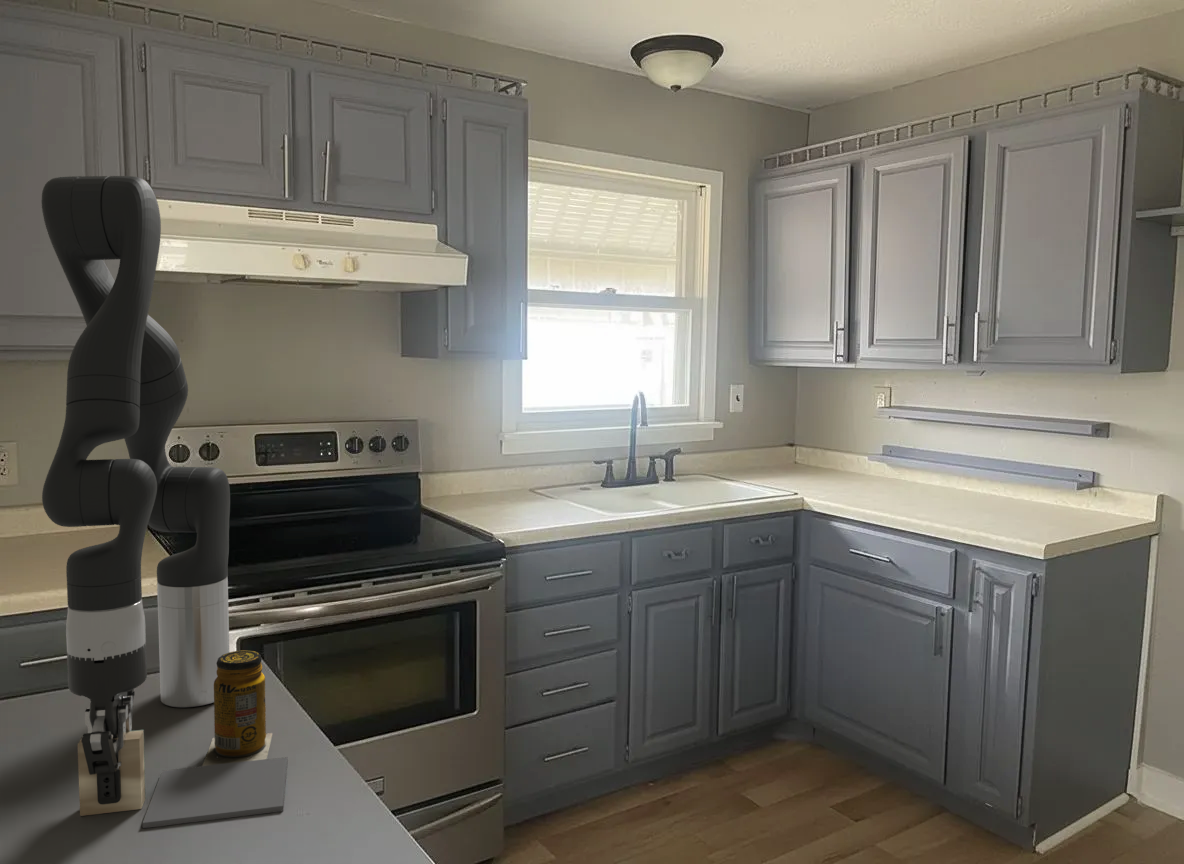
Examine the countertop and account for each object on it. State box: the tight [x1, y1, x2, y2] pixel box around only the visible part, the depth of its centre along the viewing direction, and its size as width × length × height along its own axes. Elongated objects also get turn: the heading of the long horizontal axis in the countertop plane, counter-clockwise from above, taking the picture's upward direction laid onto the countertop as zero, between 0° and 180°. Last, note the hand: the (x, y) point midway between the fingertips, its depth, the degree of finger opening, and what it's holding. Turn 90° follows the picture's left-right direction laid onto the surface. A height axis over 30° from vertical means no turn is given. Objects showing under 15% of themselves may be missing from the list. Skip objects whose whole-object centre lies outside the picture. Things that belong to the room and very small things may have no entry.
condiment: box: [201, 649, 273, 766], centre depth 112 cm, size 7×8×12 cm
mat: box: [142, 756, 289, 829], centre depth 102 cm, size 12×14×1 cm
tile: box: [77, 729, 147, 817], centre depth 98 cm, size 2×6×8 cm, turn 106°
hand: (112, 795), depth 98 cm, fingers closed on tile, 2 cm apart
